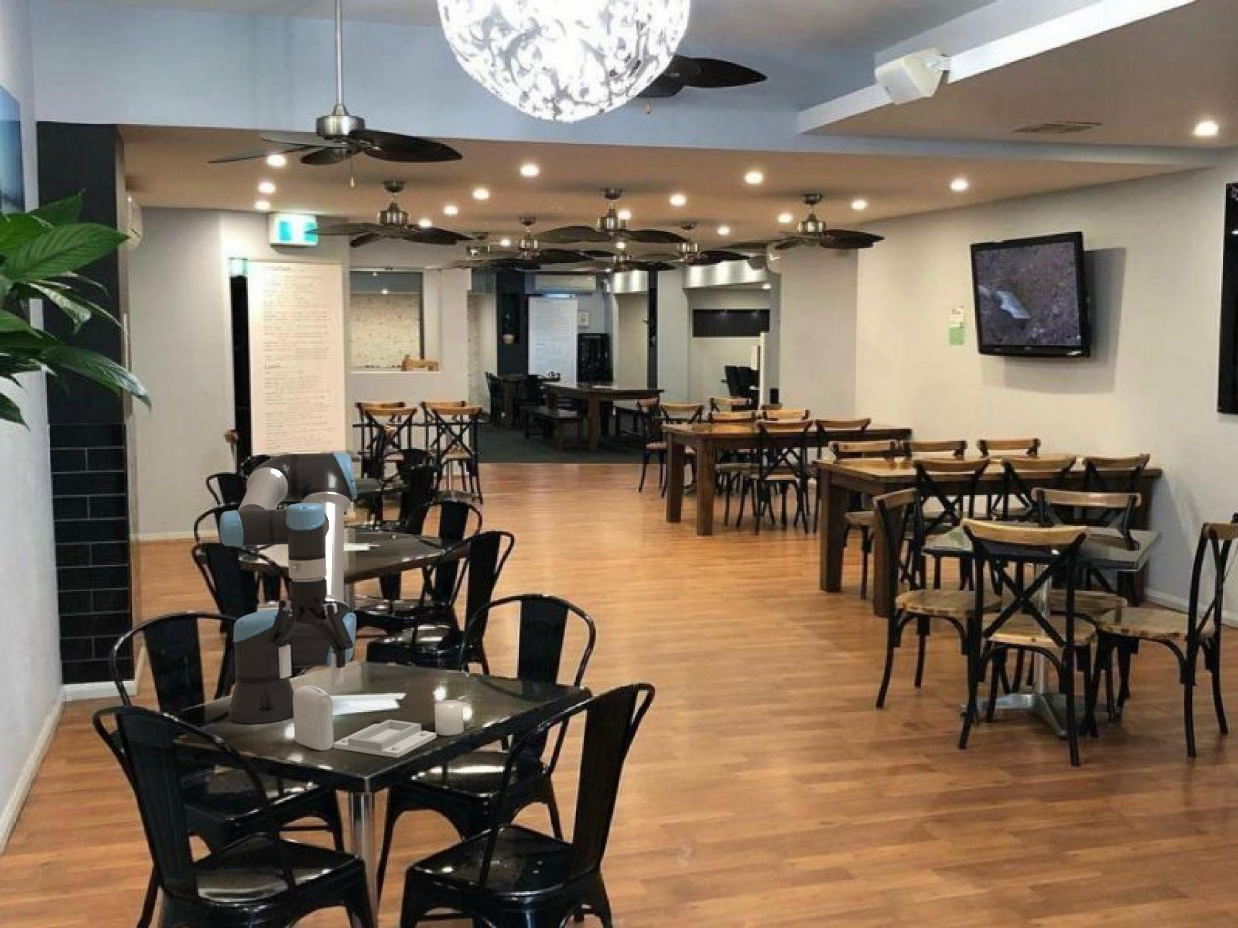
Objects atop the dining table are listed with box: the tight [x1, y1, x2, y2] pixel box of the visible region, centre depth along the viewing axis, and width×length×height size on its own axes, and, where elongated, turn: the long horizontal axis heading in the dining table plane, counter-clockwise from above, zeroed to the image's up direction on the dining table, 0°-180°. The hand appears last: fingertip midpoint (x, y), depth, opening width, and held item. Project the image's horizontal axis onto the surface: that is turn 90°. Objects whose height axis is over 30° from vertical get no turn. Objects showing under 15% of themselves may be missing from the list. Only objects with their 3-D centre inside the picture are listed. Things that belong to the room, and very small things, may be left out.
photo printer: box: [293, 685, 335, 752], centre depth 248 cm, size 10×4×12 cm, turn 47°
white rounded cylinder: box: [434, 699, 464, 736], centre depth 257 cm, size 6×6×6 cm
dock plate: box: [332, 719, 437, 758], centre depth 249 cm, size 16×14×2 cm
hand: (311, 679), depth 247 cm, fingers open, 13 cm apart
